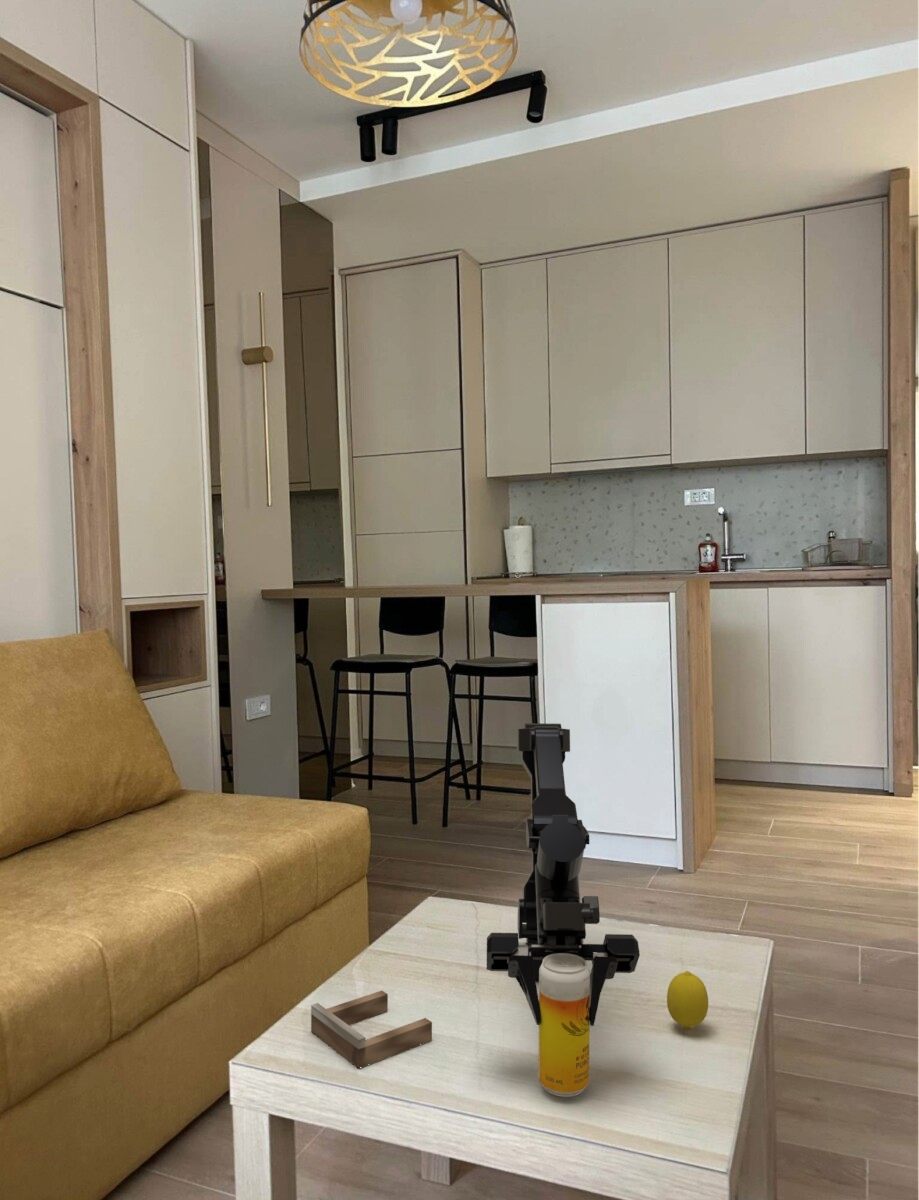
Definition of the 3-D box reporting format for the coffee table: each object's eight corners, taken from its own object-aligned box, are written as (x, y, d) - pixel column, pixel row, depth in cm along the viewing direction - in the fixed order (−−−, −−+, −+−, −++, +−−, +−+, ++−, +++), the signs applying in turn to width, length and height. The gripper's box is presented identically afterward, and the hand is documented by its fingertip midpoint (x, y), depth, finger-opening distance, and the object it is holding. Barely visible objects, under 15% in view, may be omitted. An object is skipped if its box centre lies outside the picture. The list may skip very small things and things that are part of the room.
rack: (381, 1007, 130) (381, 982, 130) (431, 1040, 121) (432, 1013, 121) (311, 1032, 123) (311, 1005, 123) (358, 1069, 114) (358, 1039, 114)
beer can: (587, 1102, 106) (588, 975, 105) (535, 1096, 107) (536, 970, 106) (590, 1074, 112) (591, 954, 111) (541, 1068, 113) (542, 949, 112)
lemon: (661, 1020, 127) (661, 963, 127) (699, 1019, 127) (700, 962, 127) (674, 1040, 121) (674, 981, 121) (714, 1038, 122) (714, 979, 122)
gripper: (487, 869, 113) (487, 998, 102) (637, 871, 112) (653, 1000, 102) (486, 908, 121) (486, 1031, 110) (626, 910, 120) (640, 1034, 110)
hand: (565, 1024), depth 108 cm, fingers closed on beer can, 6 cm apart
